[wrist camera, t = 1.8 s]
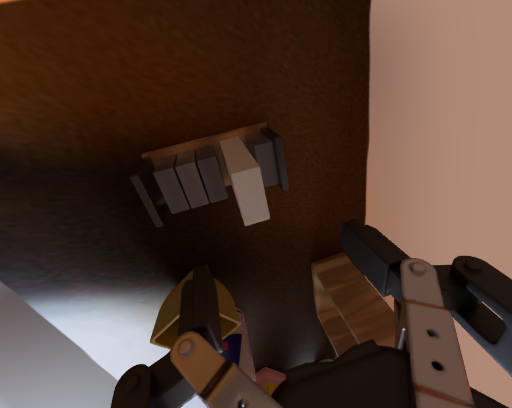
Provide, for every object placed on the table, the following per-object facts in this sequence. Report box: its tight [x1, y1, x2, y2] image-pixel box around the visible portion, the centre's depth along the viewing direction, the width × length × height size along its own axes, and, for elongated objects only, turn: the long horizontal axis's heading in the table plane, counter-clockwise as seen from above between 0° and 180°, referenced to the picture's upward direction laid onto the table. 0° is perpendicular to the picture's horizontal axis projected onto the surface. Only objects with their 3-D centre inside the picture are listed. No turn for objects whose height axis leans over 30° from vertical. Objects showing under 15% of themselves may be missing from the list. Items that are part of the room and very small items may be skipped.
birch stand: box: [311, 252, 395, 357], centre depth 37 cm, size 16×7×22 cm, turn 12°
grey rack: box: [130, 122, 289, 227], centre depth 27 cm, size 15×7×7 cm, turn 102°
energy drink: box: [220, 307, 256, 381], centre depth 39 cm, size 5×5×12 cm
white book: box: [220, 137, 270, 226], centre depth 24 cm, size 2×5×11 cm, turn 12°
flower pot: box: [150, 270, 241, 349], centre depth 35 cm, size 9×9×9 cm
